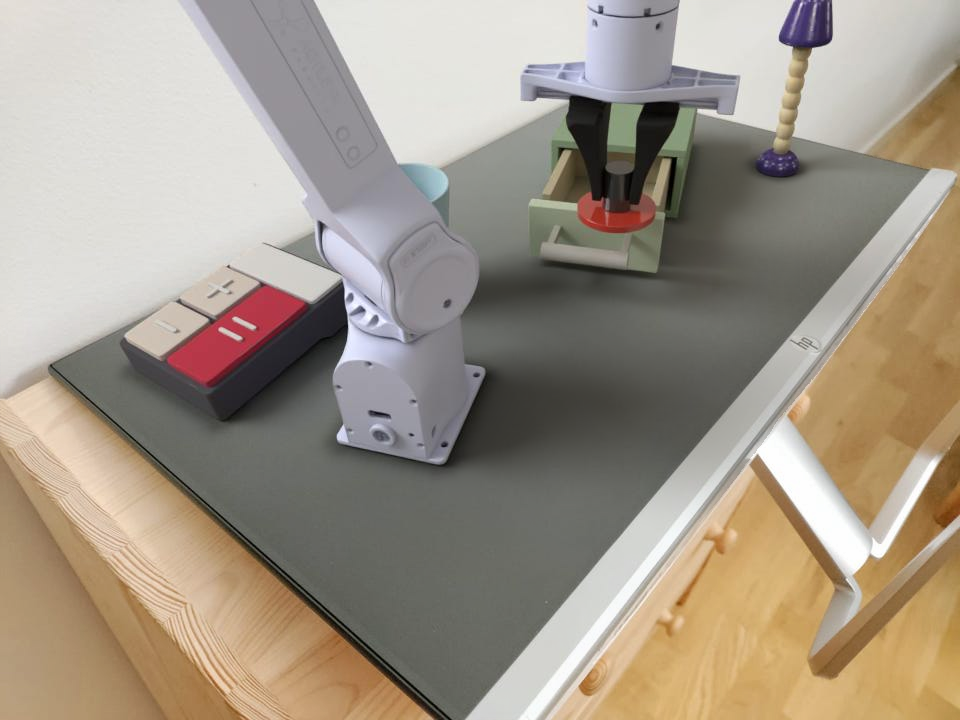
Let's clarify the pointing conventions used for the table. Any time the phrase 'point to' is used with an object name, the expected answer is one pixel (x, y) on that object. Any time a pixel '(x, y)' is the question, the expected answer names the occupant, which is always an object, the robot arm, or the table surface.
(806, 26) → the toy lamp
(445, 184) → the cup
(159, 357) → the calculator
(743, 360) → the table surface
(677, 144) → the cabinet
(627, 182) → the lid
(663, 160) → the drawer
